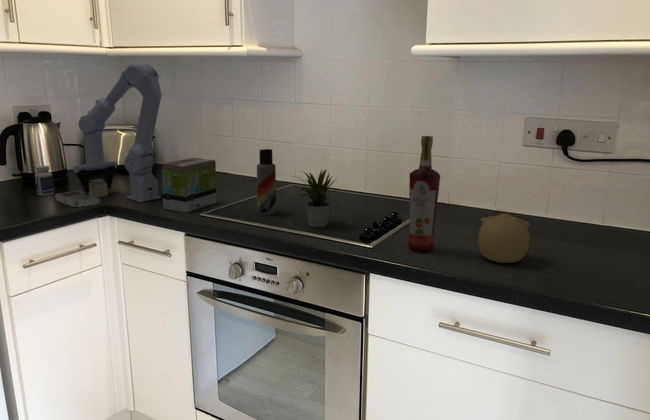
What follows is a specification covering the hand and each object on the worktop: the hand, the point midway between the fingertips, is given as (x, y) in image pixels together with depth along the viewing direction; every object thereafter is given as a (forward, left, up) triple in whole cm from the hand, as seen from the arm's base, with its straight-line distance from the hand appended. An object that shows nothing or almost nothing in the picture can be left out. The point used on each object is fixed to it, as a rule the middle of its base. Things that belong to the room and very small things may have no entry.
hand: (97, 190), depth 183 cm
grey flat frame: (-4, +9, -2) cm, 10 cm away
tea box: (-35, -14, -2) cm, 38 cm away
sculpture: (-130, -35, -2) cm, 135 cm away
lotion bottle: (-59, -25, -2) cm, 64 cm away
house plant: (-78, -27, -2) cm, 82 cm away
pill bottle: (+15, +11, -2) cm, 19 cm away
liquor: (-112, -28, -2) cm, 115 cm away
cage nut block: (0, 0, -2) cm, 2 cm away
